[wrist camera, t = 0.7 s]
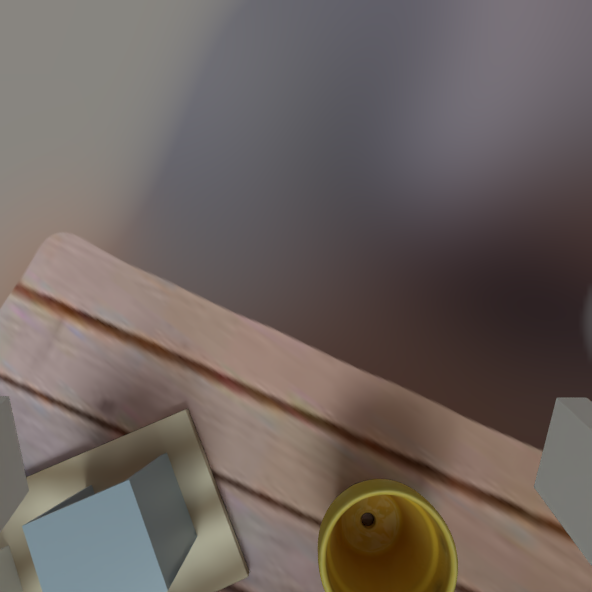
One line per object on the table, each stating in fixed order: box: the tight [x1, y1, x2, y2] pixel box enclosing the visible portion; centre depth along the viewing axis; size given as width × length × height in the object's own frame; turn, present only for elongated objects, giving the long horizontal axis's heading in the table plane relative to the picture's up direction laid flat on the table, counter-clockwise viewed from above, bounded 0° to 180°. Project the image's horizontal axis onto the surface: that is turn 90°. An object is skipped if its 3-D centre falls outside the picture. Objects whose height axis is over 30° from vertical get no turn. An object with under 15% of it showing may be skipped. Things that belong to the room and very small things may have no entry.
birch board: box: [0, 409, 249, 592], centre depth 41 cm, size 16×30×1 cm, turn 113°
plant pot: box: [318, 479, 458, 592], centre depth 38 cm, size 10×10×10 cm
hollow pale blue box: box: [22, 453, 197, 592], centre depth 37 cm, size 8×8×10 cm
